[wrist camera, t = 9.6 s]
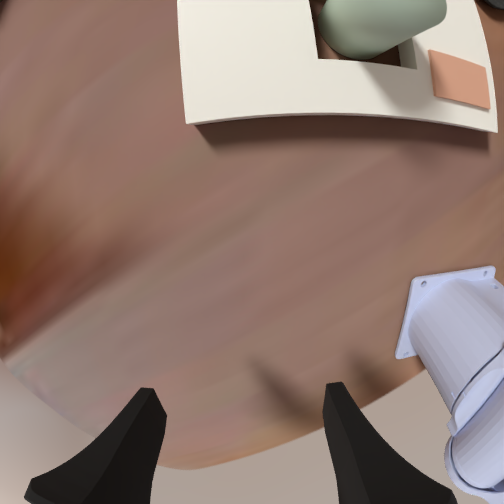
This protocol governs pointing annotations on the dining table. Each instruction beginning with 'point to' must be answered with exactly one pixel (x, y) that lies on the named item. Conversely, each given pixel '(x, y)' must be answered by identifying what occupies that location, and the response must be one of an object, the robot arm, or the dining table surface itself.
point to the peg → (376, 24)
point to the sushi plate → (496, 3)
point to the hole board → (328, 68)
